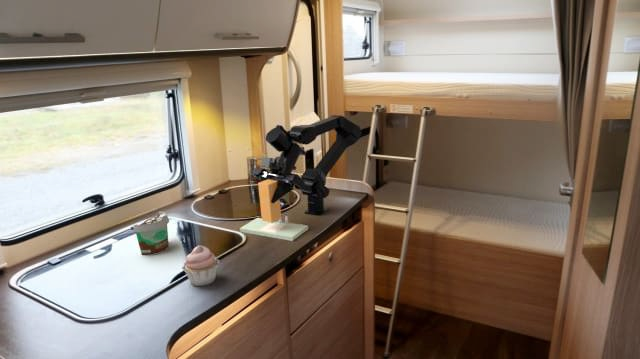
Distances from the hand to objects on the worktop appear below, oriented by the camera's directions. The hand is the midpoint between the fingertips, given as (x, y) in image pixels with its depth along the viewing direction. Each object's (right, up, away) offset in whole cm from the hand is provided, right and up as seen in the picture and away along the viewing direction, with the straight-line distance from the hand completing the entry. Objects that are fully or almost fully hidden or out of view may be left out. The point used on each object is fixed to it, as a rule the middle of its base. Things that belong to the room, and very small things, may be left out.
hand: (266, 201), depth 143 cm
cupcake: (-13, -20, -25) cm, 35 cm away
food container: (-32, -14, -5) cm, 35 cm away
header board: (+2, -10, +5) cm, 11 cm away
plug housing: (+1, -6, +3) cm, 7 cm away
